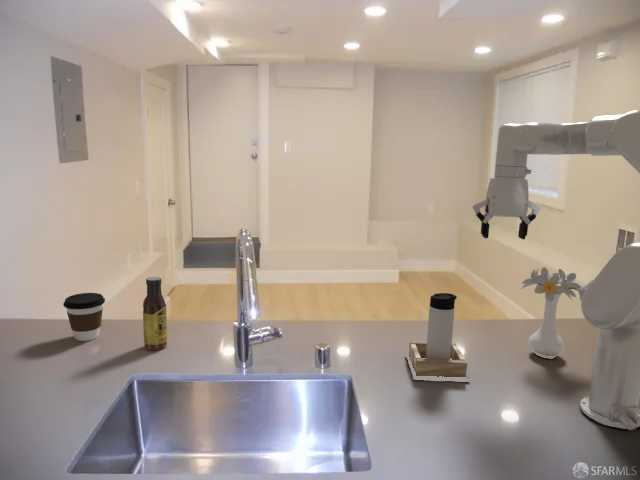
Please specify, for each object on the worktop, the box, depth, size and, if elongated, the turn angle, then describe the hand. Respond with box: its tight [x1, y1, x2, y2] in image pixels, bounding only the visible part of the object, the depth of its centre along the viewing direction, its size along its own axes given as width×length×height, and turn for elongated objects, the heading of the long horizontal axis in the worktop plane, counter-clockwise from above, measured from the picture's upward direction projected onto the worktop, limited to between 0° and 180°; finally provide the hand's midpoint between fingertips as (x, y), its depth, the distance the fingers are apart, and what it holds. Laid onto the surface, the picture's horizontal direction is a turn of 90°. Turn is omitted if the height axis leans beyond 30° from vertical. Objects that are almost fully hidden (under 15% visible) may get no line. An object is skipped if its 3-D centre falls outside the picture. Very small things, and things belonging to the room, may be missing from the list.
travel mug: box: [426, 292, 457, 360], centre depth 131 cm, size 6×7×20 cm
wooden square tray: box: [408, 340, 468, 377], centre depth 133 cm, size 14×14×5 cm
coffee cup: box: [63, 292, 106, 342], centre depth 146 cm, size 11×11×12 cm
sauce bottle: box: [142, 276, 168, 351], centre depth 140 cm, size 7×6×20 cm
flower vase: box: [520, 266, 594, 356], centre depth 142 cm, size 13×18×25 cm
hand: (503, 237), depth 134 cm, fingers open, 9 cm apart
